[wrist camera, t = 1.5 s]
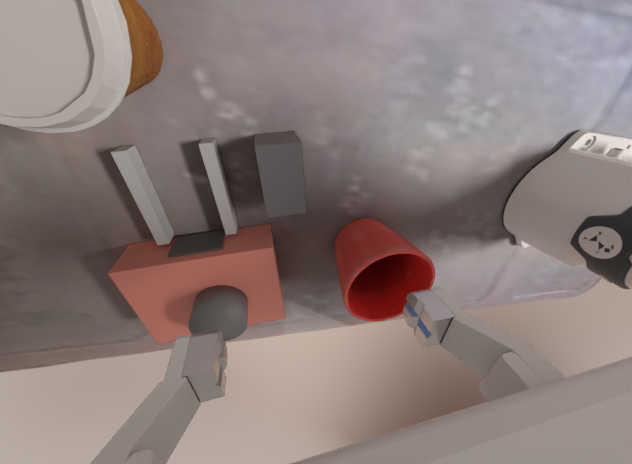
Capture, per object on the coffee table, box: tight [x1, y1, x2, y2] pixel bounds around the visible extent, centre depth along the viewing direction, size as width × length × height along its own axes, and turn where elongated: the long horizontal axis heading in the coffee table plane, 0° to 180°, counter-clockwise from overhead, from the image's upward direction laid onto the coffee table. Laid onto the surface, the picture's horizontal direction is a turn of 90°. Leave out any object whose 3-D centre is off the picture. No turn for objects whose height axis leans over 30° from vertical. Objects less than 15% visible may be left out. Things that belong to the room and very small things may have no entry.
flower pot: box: [335, 218, 435, 321], centre depth 31 cm, size 11×11×10 cm
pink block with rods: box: [108, 138, 285, 344], centre depth 26 cm, size 16×22×8 cm
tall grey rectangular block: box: [254, 131, 307, 219], centre depth 24 cm, size 4×7×5 cm, turn 3°
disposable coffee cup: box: [0, 0, 163, 133], centre depth 14 cm, size 10×10×12 cm
